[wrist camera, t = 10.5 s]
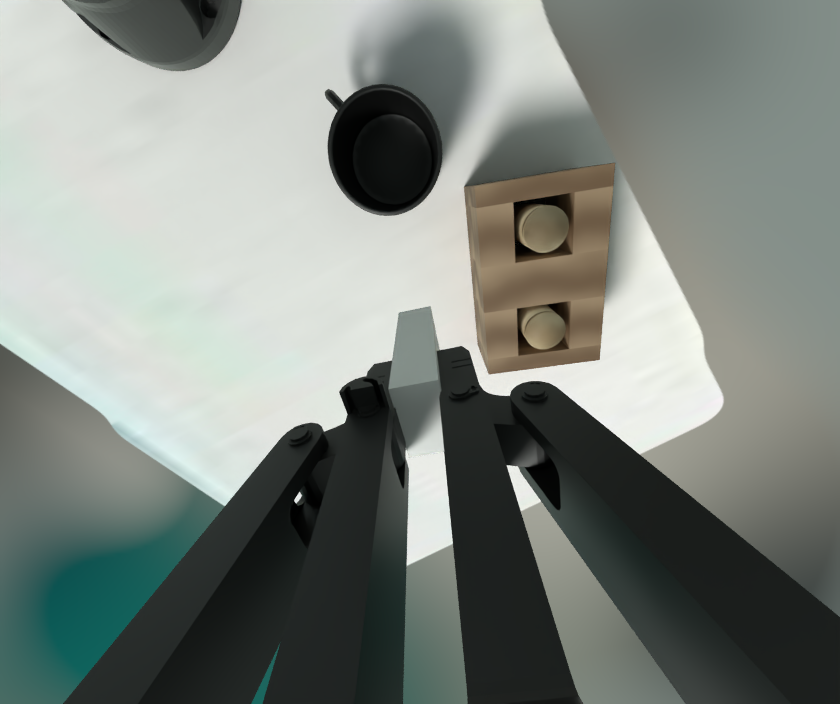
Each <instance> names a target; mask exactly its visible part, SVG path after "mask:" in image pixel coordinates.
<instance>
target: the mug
mask: <svg viewBox="0 0 840 704" xmlns="http://www.w3.org/2000/svg"><path fill="white" fill-rule="evenodd" d="M325 96H326V98H327V100H328V101H329V102H330V103H331V104H332V105H333V106H334V107H335V108H336V109H337V110H338V111H337V113H336V115H335V117H334V119H333V121H332V124H331V127H330V131H329V137H328V157H329V163H330V167H331V170H332V173H333V176H334V178H335V180H336V182H337V184H338V186H339V187H340V189H341V190H342V192H343V193H344V194H345V195H346V196H347V198H348V199H349V200H350V201H352V202H353V203H354V204H355V205H357V206H358V207H360V208H361V209H363V210H365V211H367V212H370V213H373V214H377V215H384V216H391V215H398V214H402V213H405V212H407V211H409V210H412V209H413V208H415V207H416V206H418V205H419V204H420V203H421V202H422V201H423V200H424V199H425V198H426V197H427V196H428V195H429V193H430V192H431V190H432V189H433V187H434V185H435V183H436V181H437V178H438V176H439V172H440V168H441V163H442V142H441V137H440V133H439V130H438V127H437V124H436V122H435V120H434V118H433V116H432V114H431V112H430V111H429V110H428V108H427V107H426V105H425V104H424V103H423V102H422V101H421V100H420V99H419V98H417V97H416V96H415V95H414V94H412V93H411V92H409V91H407V90H405V89H403V88H401V87H398V86H394V85H388V84H377V85H371V86H368V87H365V88H362V89H360V90H358V91H357V92H355V93H353V94H352V95H351V96H350V97H348V98H347V99H346V100H345V102H343V101H342V100H341V99H340V98H339V97H338V96H337V95H336V93H335V92H334V91H332V90H330V89H328V90H326V91H325Z"/></svg>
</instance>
